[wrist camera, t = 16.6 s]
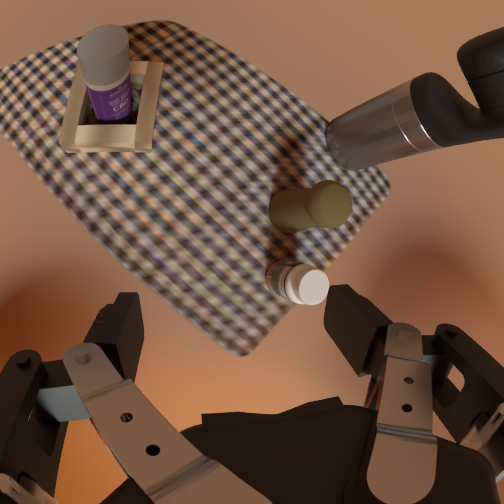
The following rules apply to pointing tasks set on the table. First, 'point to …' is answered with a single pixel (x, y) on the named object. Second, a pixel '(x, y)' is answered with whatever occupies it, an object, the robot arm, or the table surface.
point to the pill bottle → (297, 282)
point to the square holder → (112, 136)
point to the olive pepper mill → (310, 207)
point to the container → (107, 73)
